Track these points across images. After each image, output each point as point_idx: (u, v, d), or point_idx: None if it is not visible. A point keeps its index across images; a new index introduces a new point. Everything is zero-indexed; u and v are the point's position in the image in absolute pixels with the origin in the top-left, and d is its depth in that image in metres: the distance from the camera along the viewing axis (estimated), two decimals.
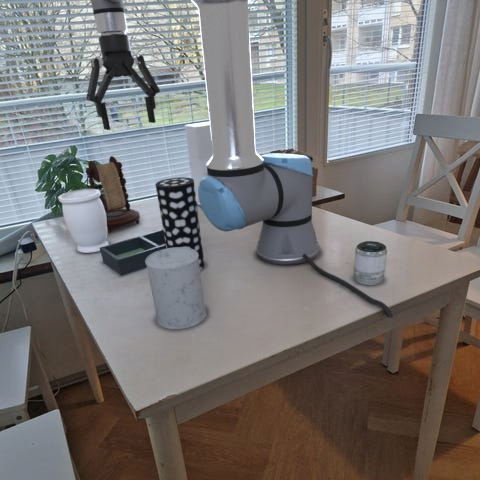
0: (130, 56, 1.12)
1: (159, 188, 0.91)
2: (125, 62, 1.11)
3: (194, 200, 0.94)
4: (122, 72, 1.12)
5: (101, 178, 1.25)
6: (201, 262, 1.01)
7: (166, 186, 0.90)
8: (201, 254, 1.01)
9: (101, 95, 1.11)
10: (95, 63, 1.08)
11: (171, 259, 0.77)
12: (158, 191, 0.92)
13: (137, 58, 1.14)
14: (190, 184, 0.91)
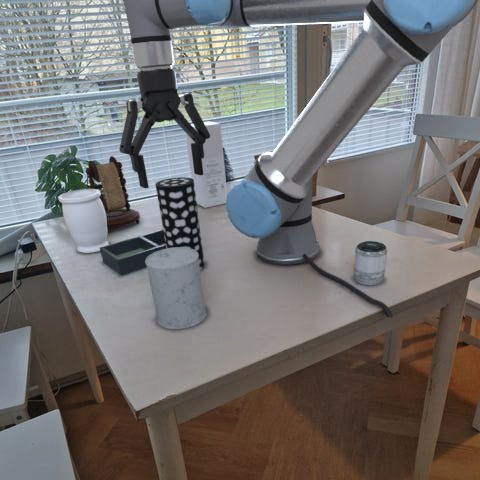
0: (176, 95, 0.87)
1: (158, 188, 0.91)
2: (170, 103, 0.86)
3: (194, 200, 0.94)
4: (165, 116, 0.87)
5: (101, 178, 1.25)
6: (201, 262, 1.01)
7: (166, 186, 0.90)
8: (201, 254, 1.01)
9: (138, 146, 0.86)
10: (132, 106, 0.82)
11: (171, 259, 0.77)
12: (158, 191, 0.92)
13: (184, 97, 0.88)
14: (190, 184, 0.91)
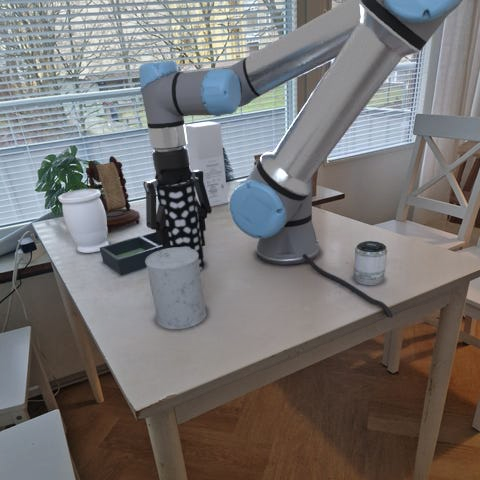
0: (188, 170, 0.93)
1: (158, 188, 0.91)
2: (183, 178, 0.92)
3: (194, 200, 0.94)
4: None
5: (101, 178, 1.25)
6: (201, 262, 1.01)
7: (166, 186, 0.90)
8: (201, 254, 1.01)
9: (163, 221, 0.94)
10: (150, 188, 0.89)
11: (171, 259, 0.77)
12: (158, 191, 0.92)
13: (196, 173, 0.95)
14: (190, 184, 0.91)
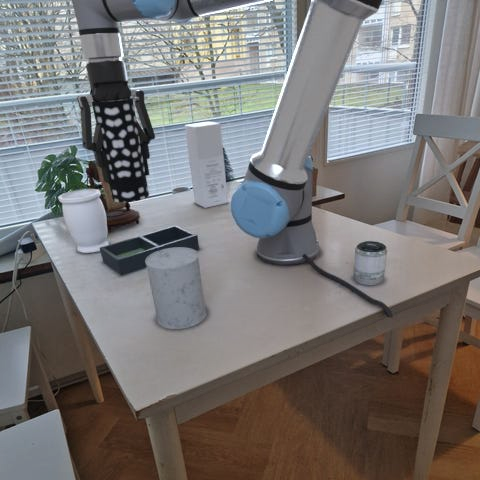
0: (126, 87, 0.88)
1: (94, 104, 0.86)
2: (120, 95, 0.87)
3: (133, 120, 0.89)
4: None
5: (101, 178, 1.25)
6: (144, 191, 0.96)
7: (101, 102, 0.86)
8: (144, 182, 0.96)
9: (99, 142, 0.89)
10: (83, 103, 0.84)
11: (171, 259, 0.77)
12: (94, 108, 0.87)
13: (136, 92, 0.90)
14: (127, 101, 0.87)
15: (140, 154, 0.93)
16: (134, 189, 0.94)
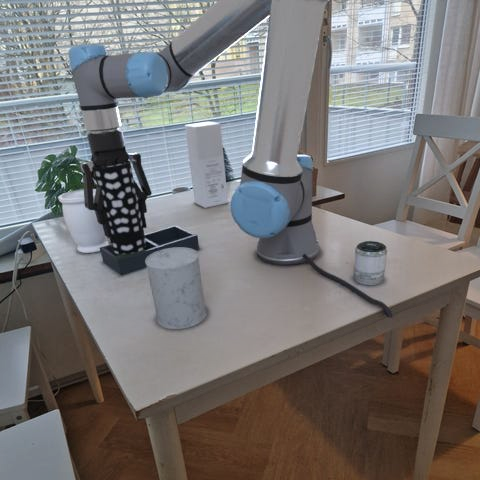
0: (124, 152, 0.96)
1: (94, 169, 0.94)
2: (119, 160, 0.95)
3: (131, 181, 0.97)
4: None
5: None
6: (142, 243, 1.04)
7: (101, 167, 0.93)
8: (141, 235, 1.04)
9: (100, 202, 0.97)
10: (85, 169, 0.92)
11: (171, 259, 0.77)
12: (94, 172, 0.95)
13: (133, 156, 0.98)
14: (125, 165, 0.94)
15: (138, 210, 1.01)
16: (132, 242, 1.02)
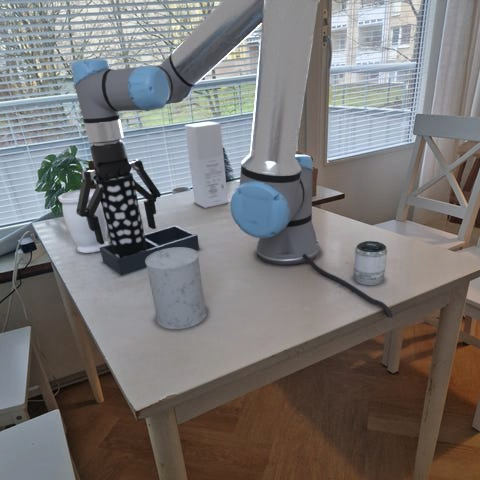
0: (127, 163, 0.97)
1: (97, 182, 0.96)
2: (121, 171, 0.96)
3: (133, 194, 0.98)
4: None
5: None
6: None
7: (104, 180, 0.95)
8: (144, 246, 1.05)
9: (93, 209, 0.96)
10: (86, 176, 0.93)
11: (171, 259, 0.77)
12: (97, 185, 0.96)
13: (135, 163, 0.99)
14: (128, 178, 0.96)
15: (140, 222, 1.02)
16: None
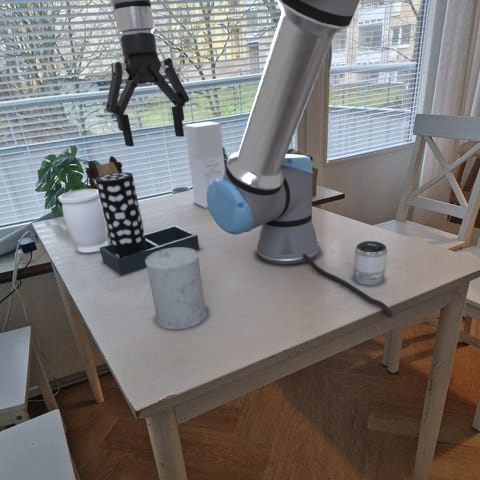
0: (157, 59, 0.94)
1: (97, 182, 0.96)
2: (151, 66, 0.93)
3: (133, 194, 0.98)
4: (148, 78, 0.95)
5: None
6: None
7: (104, 180, 0.95)
8: (144, 246, 1.05)
9: (124, 105, 0.93)
10: (117, 68, 0.90)
11: (171, 259, 0.77)
12: (97, 185, 0.96)
13: (164, 61, 0.96)
14: (128, 178, 0.96)
15: (140, 222, 1.02)
16: None
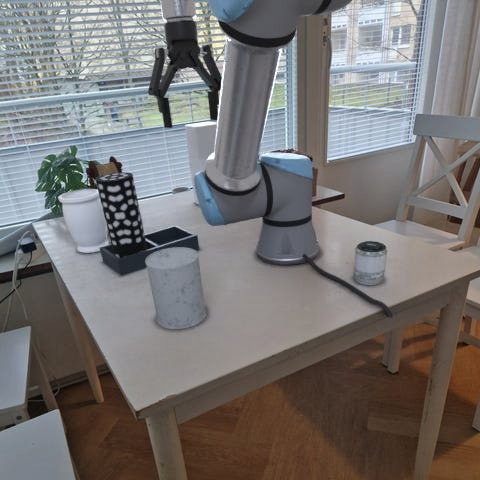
0: (197, 45, 1.00)
1: (97, 182, 0.96)
2: (192, 52, 0.99)
3: (133, 194, 0.98)
4: (187, 63, 1.01)
5: None
6: None
7: (104, 180, 0.95)
8: (144, 246, 1.05)
9: (165, 89, 0.99)
10: (160, 53, 0.96)
11: (171, 259, 0.77)
12: (97, 185, 0.96)
13: (203, 48, 1.02)
14: (128, 178, 0.96)
15: (140, 222, 1.02)
16: None
